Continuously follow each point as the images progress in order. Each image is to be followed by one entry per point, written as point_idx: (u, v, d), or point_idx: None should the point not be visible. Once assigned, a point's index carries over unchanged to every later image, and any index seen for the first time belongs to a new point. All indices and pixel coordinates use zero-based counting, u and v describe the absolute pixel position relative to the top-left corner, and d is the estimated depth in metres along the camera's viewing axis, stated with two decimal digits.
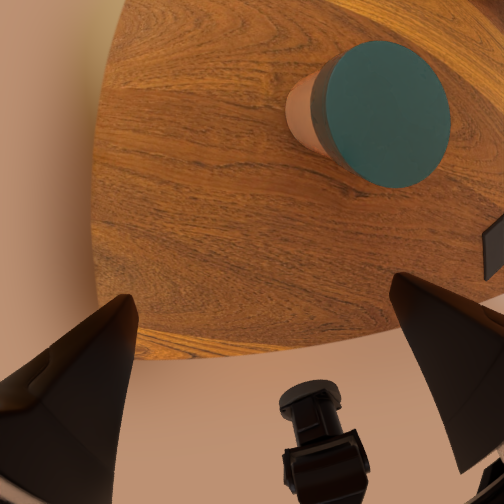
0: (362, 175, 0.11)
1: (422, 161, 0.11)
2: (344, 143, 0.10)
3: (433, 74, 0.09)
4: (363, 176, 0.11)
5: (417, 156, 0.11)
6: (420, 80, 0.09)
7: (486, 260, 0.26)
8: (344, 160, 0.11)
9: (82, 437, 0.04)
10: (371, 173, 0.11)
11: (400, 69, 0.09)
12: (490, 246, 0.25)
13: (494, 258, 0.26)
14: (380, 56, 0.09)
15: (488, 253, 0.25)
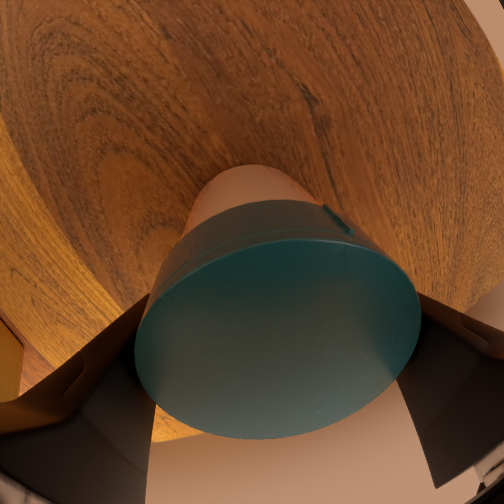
0: (416, 339, 0.06)
1: (327, 284, 0.05)
2: (386, 381, 0.07)
3: (145, 380, 0.06)
4: (417, 336, 0.06)
5: (327, 301, 0.05)
6: (188, 388, 0.06)
7: None
8: None
9: (119, 444, 0.04)
10: (409, 334, 0.06)
11: (217, 411, 0.06)
12: None
13: None
14: (233, 427, 0.07)
15: None
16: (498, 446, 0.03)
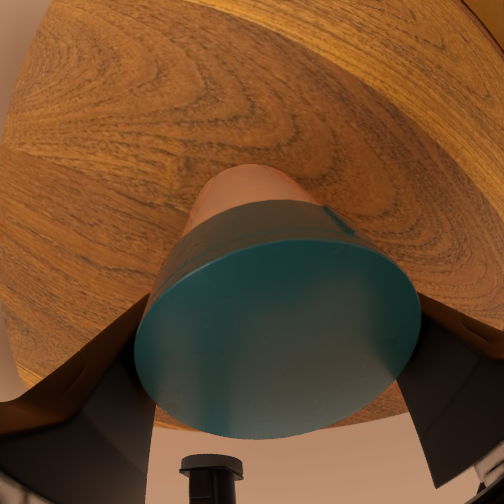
0: (416, 339, 0.06)
1: (327, 284, 0.05)
2: (385, 381, 0.07)
3: (145, 380, 0.06)
4: (417, 336, 0.06)
5: (328, 302, 0.05)
6: (188, 388, 0.06)
7: None
8: None
9: (119, 444, 0.04)
10: (409, 334, 0.06)
11: (217, 411, 0.06)
12: None
13: None
14: (233, 427, 0.07)
15: None
16: (498, 446, 0.03)
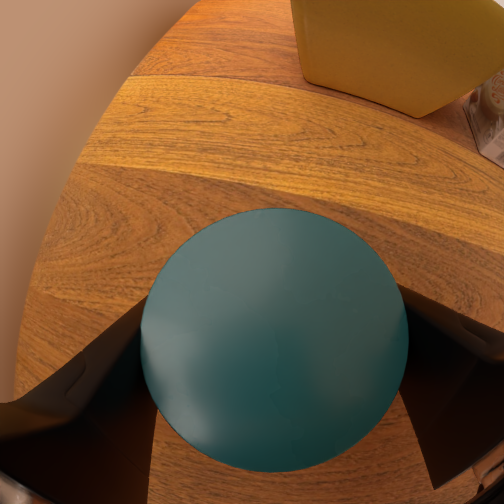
0: (386, 268, 0.07)
1: (263, 238, 0.07)
2: (397, 327, 0.06)
3: (152, 383, 0.06)
4: (385, 266, 0.07)
5: (272, 251, 0.07)
6: (194, 384, 0.06)
7: None
8: (400, 302, 0.07)
9: (122, 445, 0.04)
10: (372, 264, 0.07)
11: (233, 417, 0.06)
12: None
13: None
14: (264, 447, 0.05)
15: None
16: (496, 447, 0.03)
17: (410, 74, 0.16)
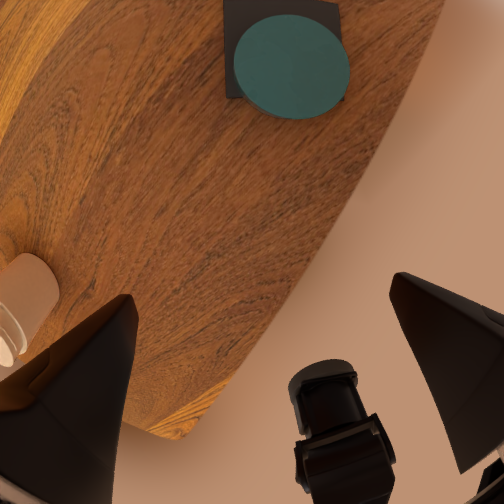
0: (342, 46, 0.13)
1: (288, 25, 0.12)
2: (344, 69, 0.13)
3: (239, 76, 0.13)
4: (341, 45, 0.13)
5: (291, 31, 0.12)
6: (258, 76, 0.13)
7: None
8: (347, 60, 0.13)
9: (82, 437, 0.04)
10: (335, 43, 0.13)
11: (273, 90, 0.14)
12: None
13: None
14: (285, 105, 0.14)
15: None
16: None
17: None
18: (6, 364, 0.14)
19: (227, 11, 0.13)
